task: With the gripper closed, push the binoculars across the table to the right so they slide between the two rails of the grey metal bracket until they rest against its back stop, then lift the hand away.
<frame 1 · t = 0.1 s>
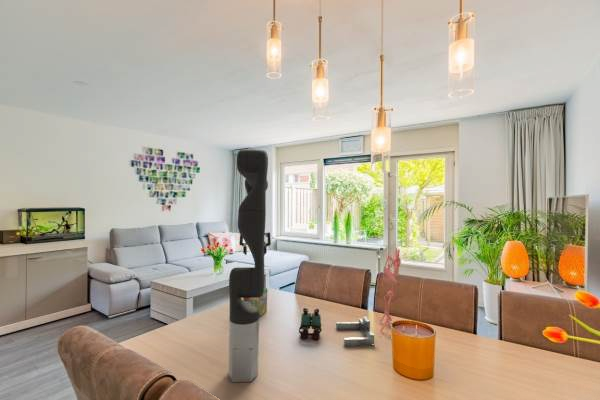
hand: (255, 254, 139), 29 cm above the table, tool pointing down, fingers open, 8 cm apart
binoculars: (310, 337, 120), on the table
figurine: (396, 329, 129), on the table
chalk box: (254, 313, 144), on the table
bracket: (352, 336, 121), on the table
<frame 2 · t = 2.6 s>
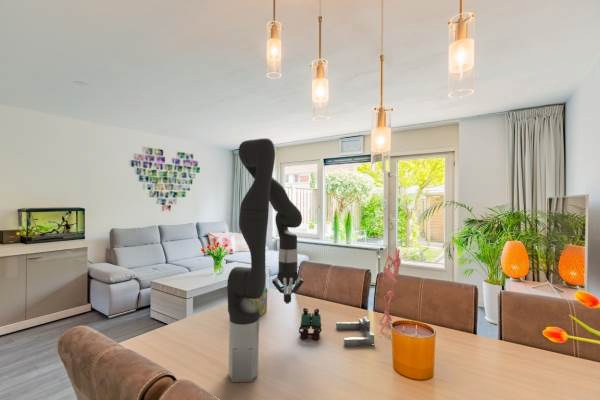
hand: (287, 302, 119), 14 cm above the table, tool pointing down, fingers closed
nothing on the table moved.
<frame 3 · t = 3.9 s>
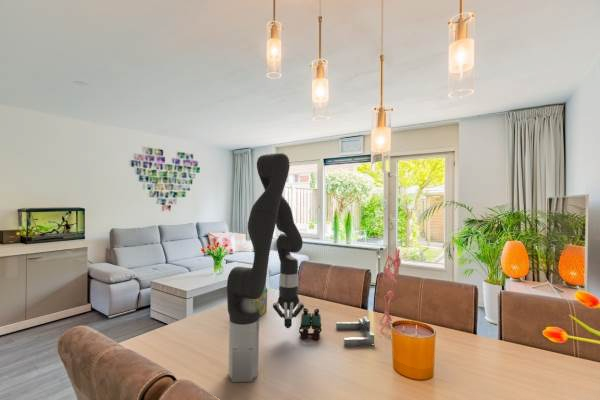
hand: (288, 327, 119), 4 cm above the table, tool pointing down, fingers closed
nothing on the table moved.
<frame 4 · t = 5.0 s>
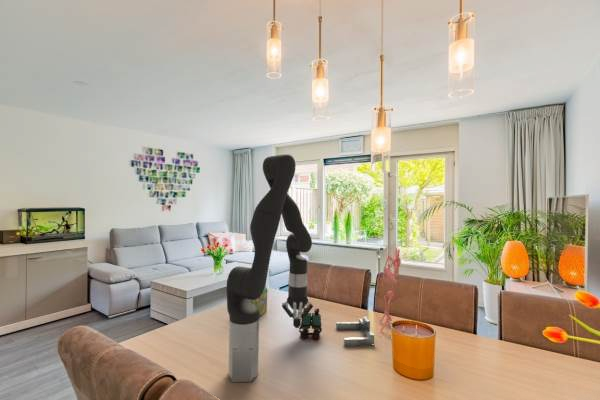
hand: (296, 327, 119), 4 cm above the table, tool pointing down, fingers closed
binoculars: (310, 337, 120), on the table, touching gripper, hand
everything else where it was.
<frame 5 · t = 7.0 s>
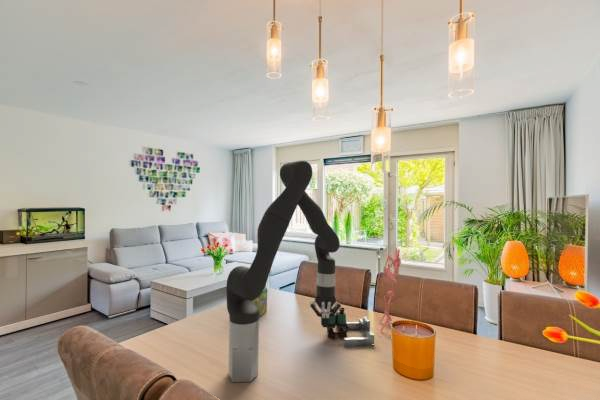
hand: (324, 326, 120), 4 cm above the table, tool pointing down, fingers closed
binoculars: (337, 336, 121), on the table, touching gripper
everything else where it was.
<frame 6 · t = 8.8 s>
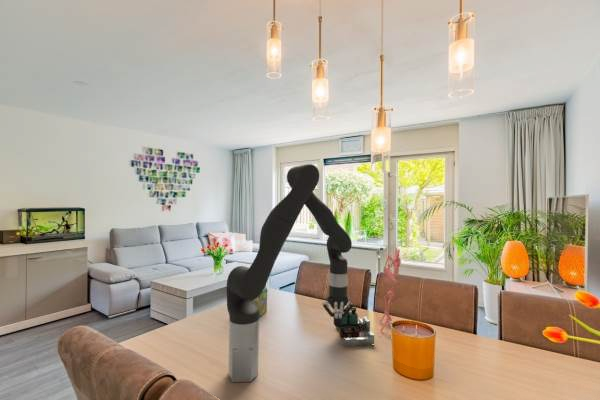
hand: (337, 326, 120), 4 cm above the table, tool pointing down, fingers closed
binoculars: (349, 336, 121), on the table, touching gripper
everything else where it was.
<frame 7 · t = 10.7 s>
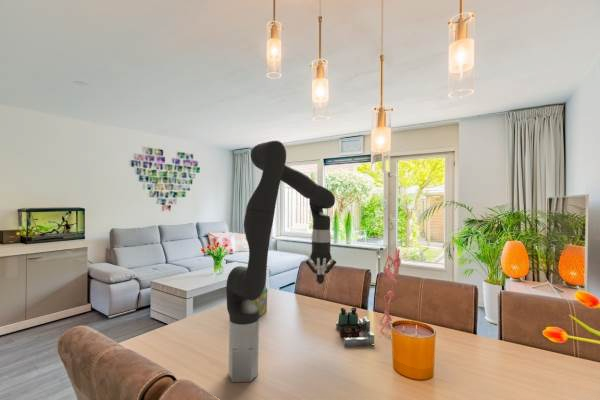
hand: (320, 283, 120), 21 cm above the table, tool pointing down, fingers closed
binoculars: (349, 336, 121), on the table
everything else where it was.
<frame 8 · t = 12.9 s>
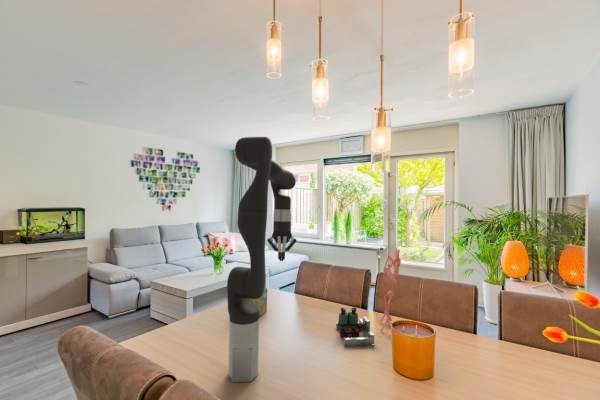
hand: (281, 260, 127), 29 cm above the table, tool pointing down, fingers closed
nothing on the table moved.
at the end: binoculars 1.0 cm from the bracket (horizontally); binoculars tilted 0° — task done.
